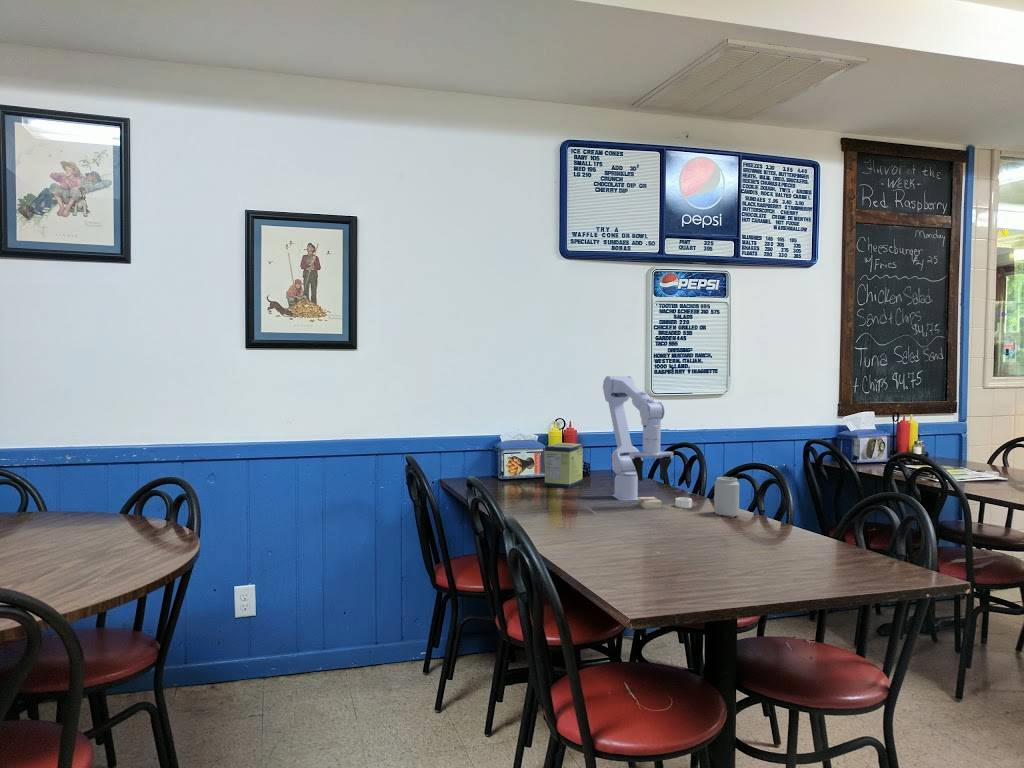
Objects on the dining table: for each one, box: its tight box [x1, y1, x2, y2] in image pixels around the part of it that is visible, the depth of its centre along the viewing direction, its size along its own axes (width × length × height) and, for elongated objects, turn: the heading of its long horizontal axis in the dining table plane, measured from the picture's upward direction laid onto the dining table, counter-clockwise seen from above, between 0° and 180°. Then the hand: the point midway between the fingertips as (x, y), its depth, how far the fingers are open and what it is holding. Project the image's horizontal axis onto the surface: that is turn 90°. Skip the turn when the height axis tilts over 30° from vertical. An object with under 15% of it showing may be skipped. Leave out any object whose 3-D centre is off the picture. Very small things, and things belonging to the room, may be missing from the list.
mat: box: [630, 501, 668, 511], centre depth 250 cm, size 12×9×1 cm
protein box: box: [544, 442, 584, 489], centre depth 294 cm, size 10×16×16 cm
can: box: [713, 476, 740, 518], centre depth 238 cm, size 8×8×12 cm
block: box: [637, 496, 663, 510], centre depth 249 cm, size 8×6×2 cm
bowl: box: [675, 496, 693, 509], centre depth 249 cm, size 5×5×3 cm
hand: (651, 480), depth 248 cm, fingers open, 7 cm apart
